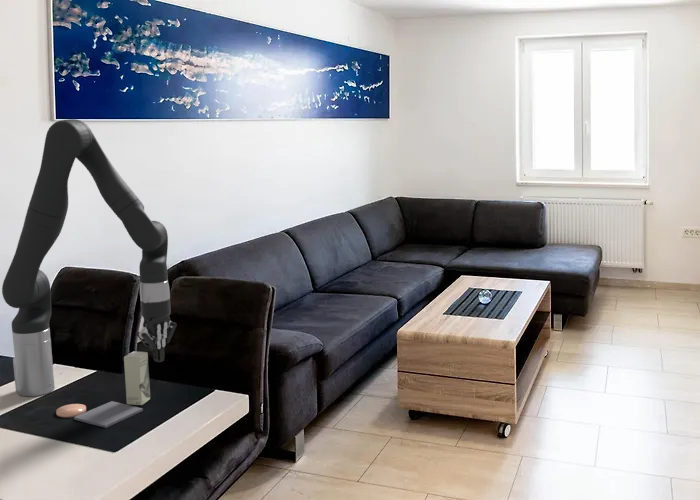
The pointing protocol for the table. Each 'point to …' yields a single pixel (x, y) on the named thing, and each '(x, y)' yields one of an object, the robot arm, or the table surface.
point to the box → (137, 378)
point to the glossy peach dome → (71, 410)
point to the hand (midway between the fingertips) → (159, 361)
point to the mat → (108, 414)
